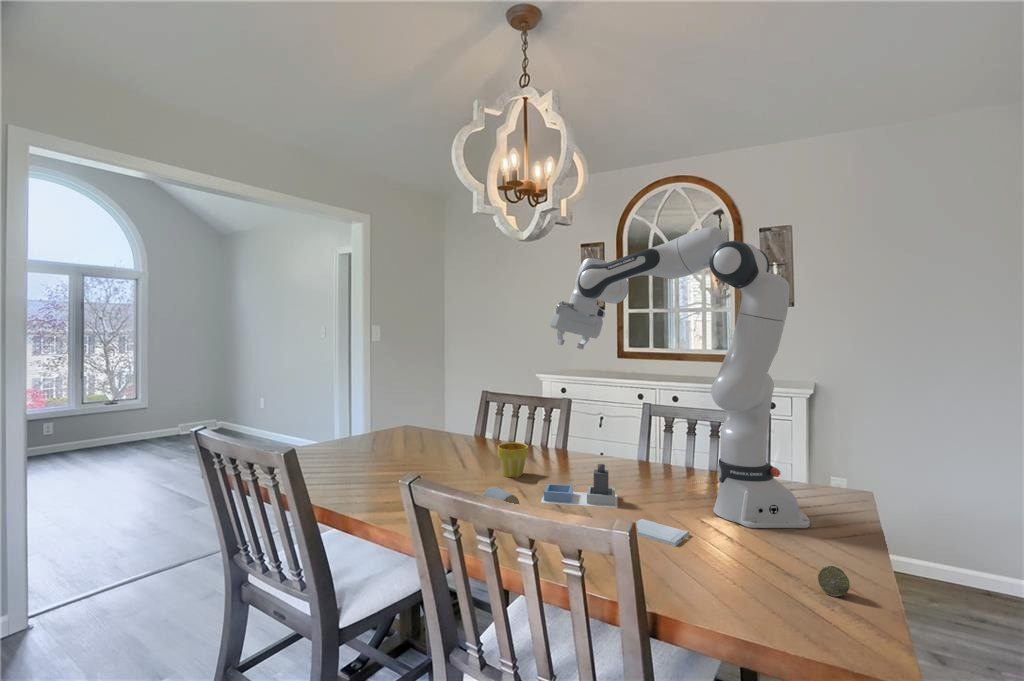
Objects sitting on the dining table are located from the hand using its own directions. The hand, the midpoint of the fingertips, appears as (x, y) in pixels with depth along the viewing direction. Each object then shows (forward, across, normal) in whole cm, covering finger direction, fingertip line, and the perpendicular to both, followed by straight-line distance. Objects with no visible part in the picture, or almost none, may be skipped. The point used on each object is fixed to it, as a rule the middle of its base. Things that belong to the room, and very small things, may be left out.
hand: (570, 346), depth 168 cm
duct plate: (+40, -7, -29) cm, 50 cm away
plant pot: (+47, -6, +3) cm, 48 cm away
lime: (+26, -6, -92) cm, 95 cm away
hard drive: (+35, -8, -56) cm, 66 cm away
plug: (+37, -4, -33) cm, 50 cm away
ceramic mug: (+45, -31, -26) cm, 60 cm away
